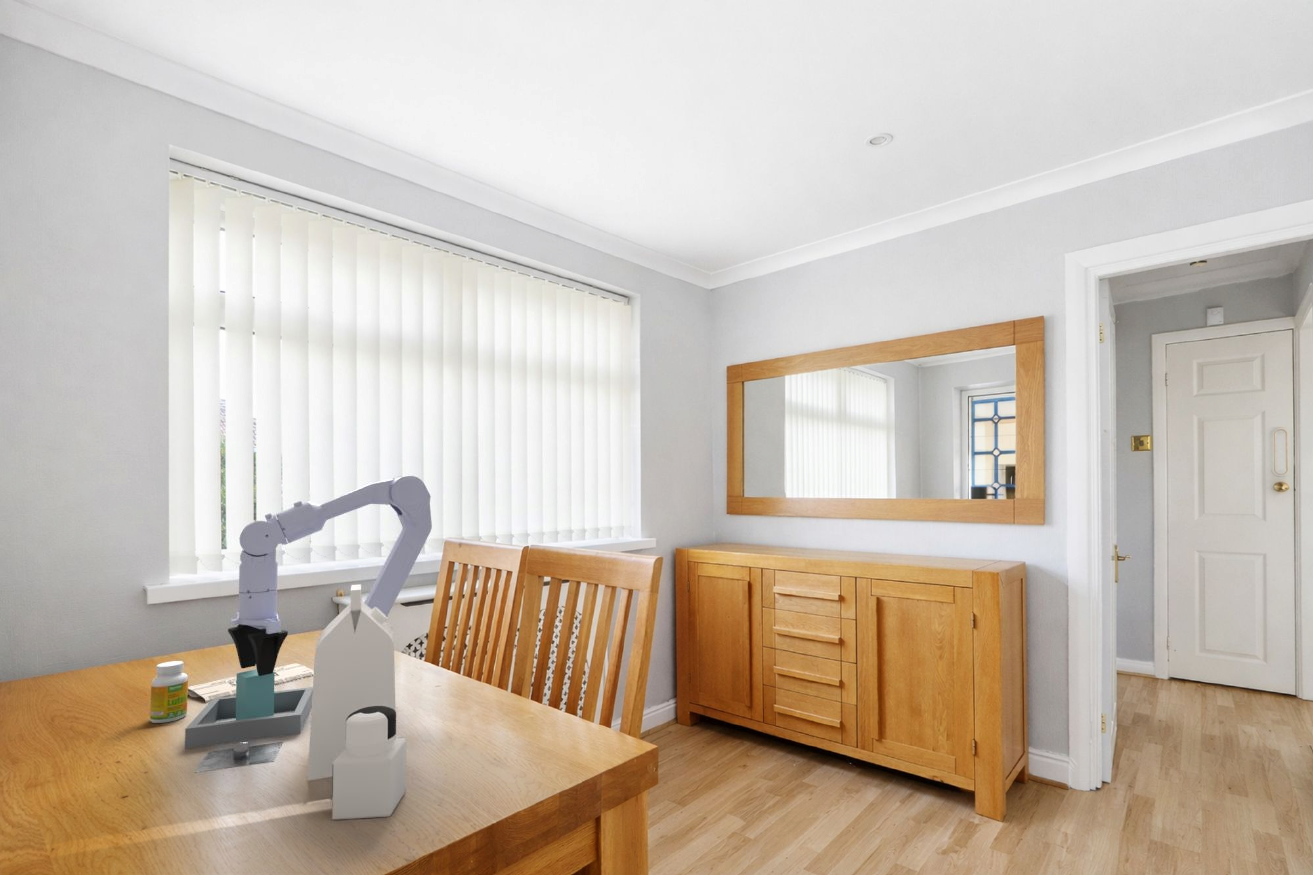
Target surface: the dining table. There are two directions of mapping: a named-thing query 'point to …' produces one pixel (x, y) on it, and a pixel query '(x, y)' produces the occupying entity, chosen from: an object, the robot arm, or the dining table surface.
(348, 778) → the medicine bottle
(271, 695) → the strut
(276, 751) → the stud plate
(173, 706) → the supplement bottle
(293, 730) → the bin
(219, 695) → the newspaper
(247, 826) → the dining table surface
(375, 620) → the milk
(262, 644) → the robot arm
